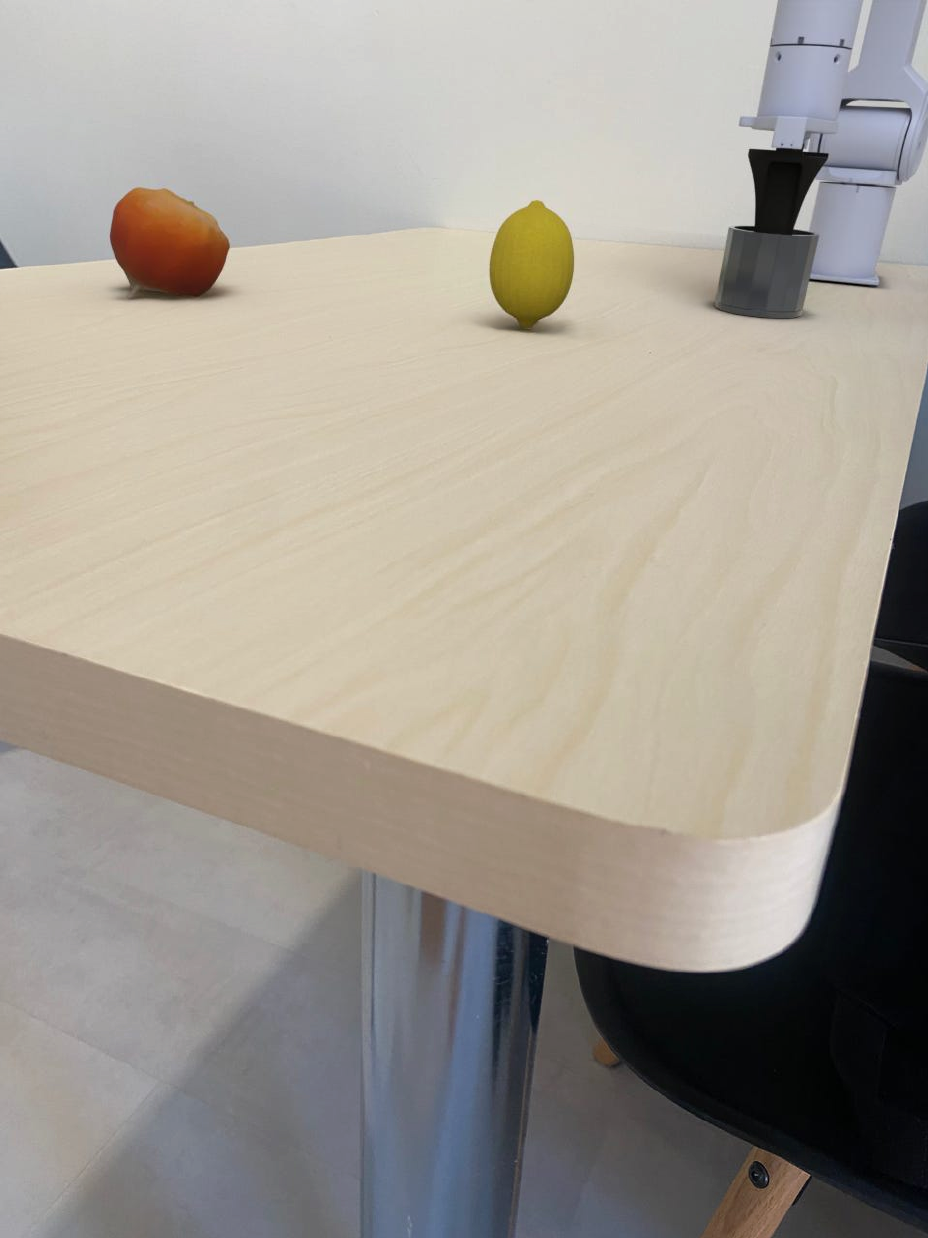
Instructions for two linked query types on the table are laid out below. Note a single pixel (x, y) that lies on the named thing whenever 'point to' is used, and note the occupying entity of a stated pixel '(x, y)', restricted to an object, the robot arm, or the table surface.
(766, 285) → the tumbler
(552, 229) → the lemon
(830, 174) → the robot arm
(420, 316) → the table surface
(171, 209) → the fruit
